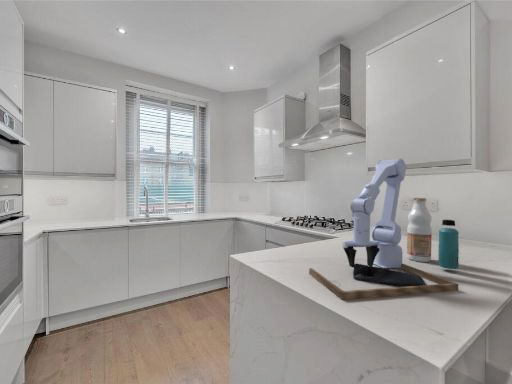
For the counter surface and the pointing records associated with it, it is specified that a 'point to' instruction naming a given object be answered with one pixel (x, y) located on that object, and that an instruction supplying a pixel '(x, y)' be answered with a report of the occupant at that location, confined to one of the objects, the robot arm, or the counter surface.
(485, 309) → the counter surface
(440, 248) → the beverage bottle
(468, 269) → the counter surface
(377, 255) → the robot arm
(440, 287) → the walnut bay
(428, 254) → the fruit juice
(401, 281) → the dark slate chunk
